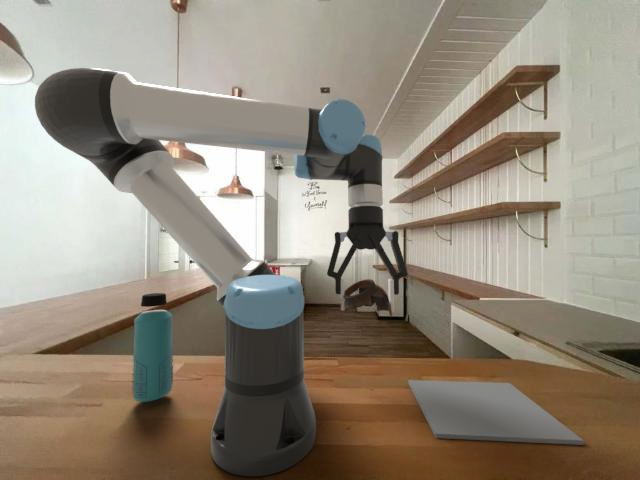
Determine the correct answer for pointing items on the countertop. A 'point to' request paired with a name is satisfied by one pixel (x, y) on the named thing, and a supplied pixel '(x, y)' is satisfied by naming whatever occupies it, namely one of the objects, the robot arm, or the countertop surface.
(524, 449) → the countertop surface
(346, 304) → the broken terracotta jug
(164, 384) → the beverage bottle
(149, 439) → the countertop surface
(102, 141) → the robot arm
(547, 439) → the gray mat
